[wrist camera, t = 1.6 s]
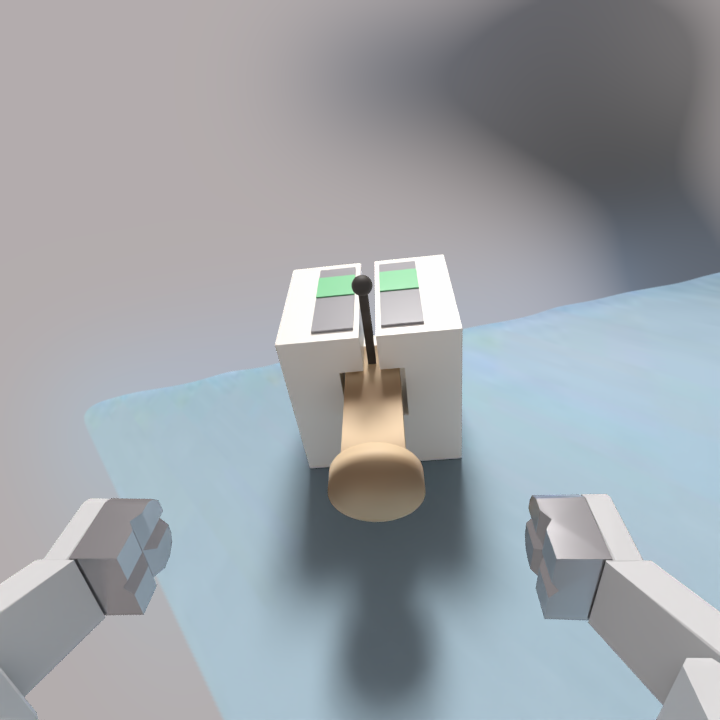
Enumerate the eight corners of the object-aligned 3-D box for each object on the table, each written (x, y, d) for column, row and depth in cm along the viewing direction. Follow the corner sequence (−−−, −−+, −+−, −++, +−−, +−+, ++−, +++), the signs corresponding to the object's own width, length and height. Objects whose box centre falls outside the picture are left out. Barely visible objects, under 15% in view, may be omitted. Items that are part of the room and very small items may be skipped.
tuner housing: (461, 458, 42) (462, 324, 33) (309, 468, 43) (273, 341, 35) (445, 374, 50) (443, 251, 42) (319, 384, 52) (293, 266, 43)
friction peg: (427, 519, 32) (417, 374, 24) (335, 524, 33) (298, 384, 25) (413, 389, 42) (404, 257, 34) (343, 395, 42) (318, 266, 35)
